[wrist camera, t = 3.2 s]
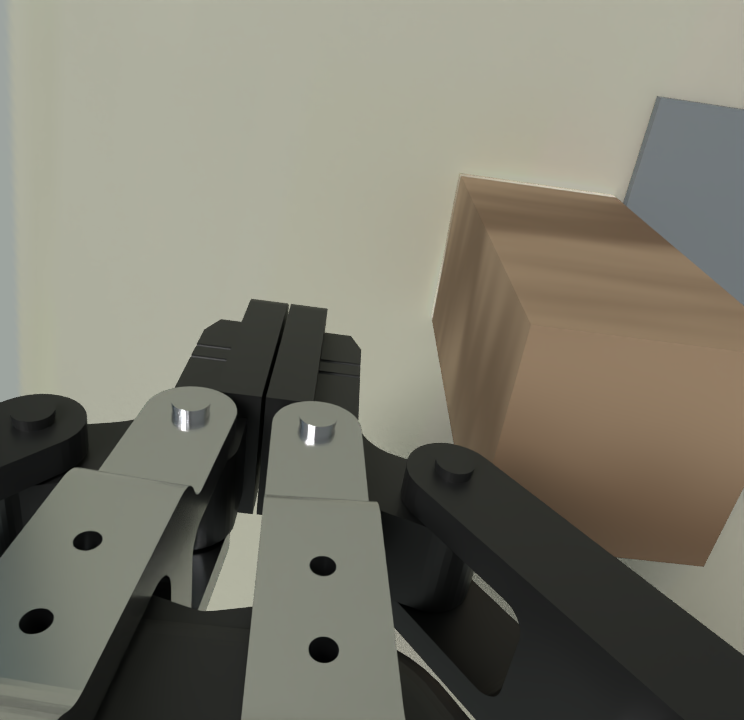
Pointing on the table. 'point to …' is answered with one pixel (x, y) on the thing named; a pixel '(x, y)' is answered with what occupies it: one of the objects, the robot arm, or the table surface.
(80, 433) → the robot arm
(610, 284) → the walnut block
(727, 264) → the rubber mat
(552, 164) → the table surface
